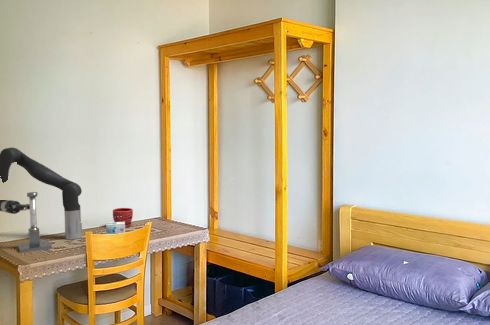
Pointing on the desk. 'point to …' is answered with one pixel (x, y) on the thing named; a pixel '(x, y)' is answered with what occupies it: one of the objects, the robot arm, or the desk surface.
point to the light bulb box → (115, 227)
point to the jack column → (32, 209)
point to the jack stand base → (34, 242)
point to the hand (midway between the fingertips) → (26, 209)
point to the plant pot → (123, 216)
